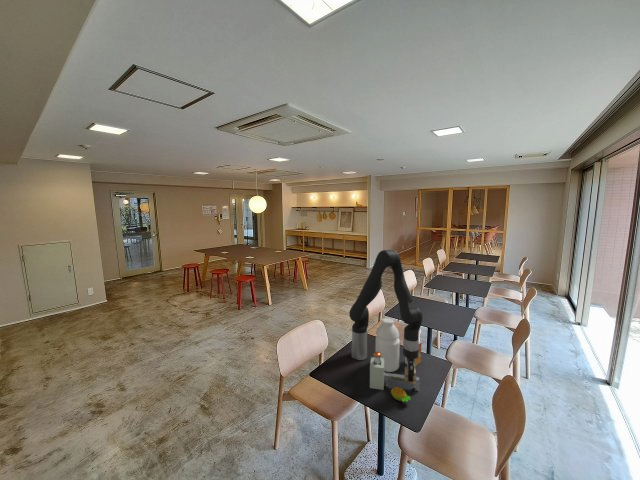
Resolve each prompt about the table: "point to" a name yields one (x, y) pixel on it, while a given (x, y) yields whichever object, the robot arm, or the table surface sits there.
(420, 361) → the small box
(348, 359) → the table surface
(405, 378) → the block
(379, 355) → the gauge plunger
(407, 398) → the toy pineapple
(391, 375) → the rail
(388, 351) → the bottle
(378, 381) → the cabinet
